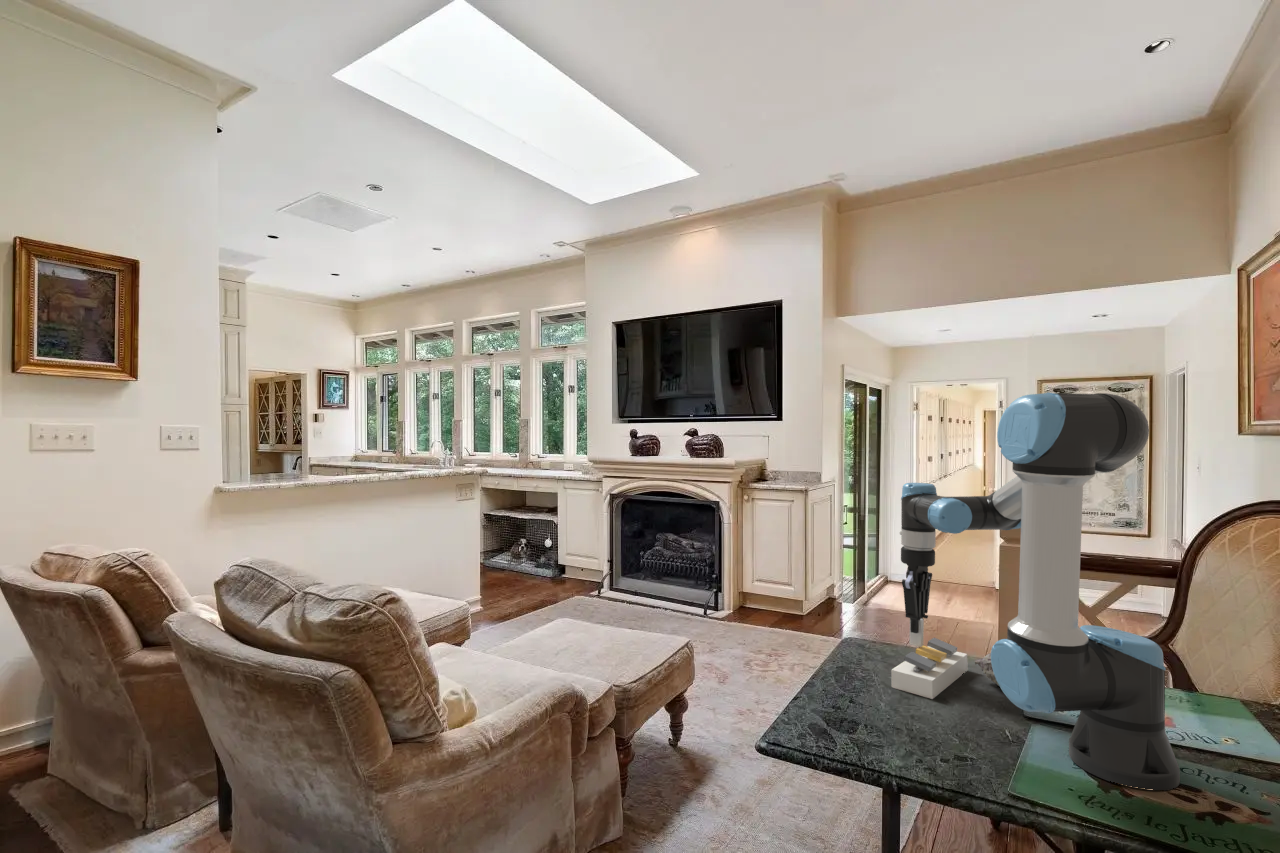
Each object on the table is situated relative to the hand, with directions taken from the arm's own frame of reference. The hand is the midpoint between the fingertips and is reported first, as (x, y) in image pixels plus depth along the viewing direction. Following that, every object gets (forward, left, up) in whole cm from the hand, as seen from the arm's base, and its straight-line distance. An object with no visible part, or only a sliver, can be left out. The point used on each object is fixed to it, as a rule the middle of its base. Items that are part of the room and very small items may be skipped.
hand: (916, 644), depth 148 cm
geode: (-20, -8, -7) cm, 23 cm away
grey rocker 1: (-3, +7, -2) cm, 8 cm away
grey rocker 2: (-3, -7, -2) cm, 8 cm away
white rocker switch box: (-3, -2, -7) cm, 8 cm away
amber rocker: (-3, 0, -2) cm, 4 cm away
